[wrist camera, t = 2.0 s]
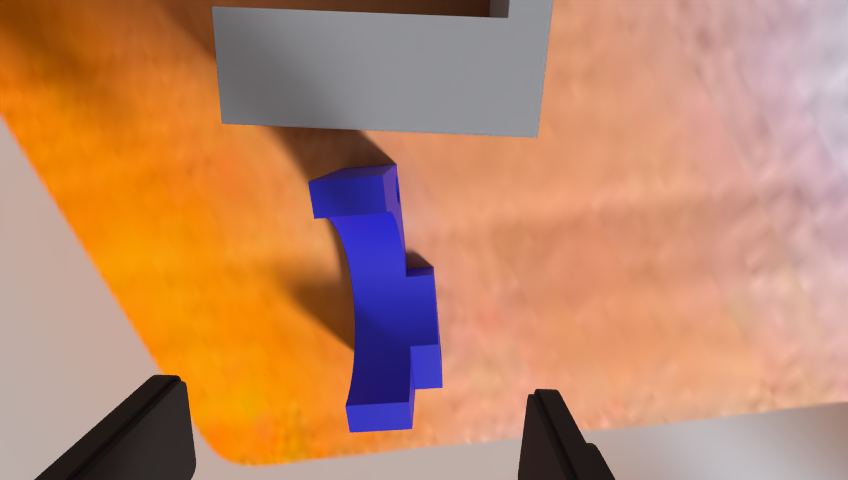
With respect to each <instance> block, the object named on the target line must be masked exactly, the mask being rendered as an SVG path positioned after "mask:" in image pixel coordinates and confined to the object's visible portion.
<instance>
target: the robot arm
mask: <svg viewBox="0 0 848 480" xmlns="http://www.w3.org/2000/svg"><path fill="white" fill-rule="evenodd" d="M195 468H196V457H195V450H194V442H193V434H192V425H191V417H190V409H189V401H188V393H187V386H186V383H185V382H183V381H181V379H180V377H179V376H177V375H153V376H152V377H150V378H149V379H148V380H147V381H146V382H145V383H144V384H143V385H141V386H140V387H139V388H138V389H137V390H136V391H134V392H133V393H132V394H131V395H130V396H129V397H128V398H126V399H125V400H124V401H123V402H122V403H121V404H120V405H119V406H117V407H116V408H115V409H114V410H113V411H112V412H111V413H109V414H108V415H107V416H106V417H105V418H104V419H103V420H102V421H100V422H99V423H98V424H97V425H96V426H95V427H94V428H92V429H91V430H90V431H89V432H88V433H87V434H86V435H84V436H83V437H82V438H81V439H80V440H79V441H78V442H76V443H75V444H74V445H73V446H72V447H71V448H70V449H69V450H67V451H66V452H65V453H64V454H63V455H62V456H61V457H59V459H57V460H56V461H55V462H54V463H53V464H52V465H51V466H49V467H48V468H47V469H46V470H45V471H44V472H42V473H41V474H40V475H39V476H38V477H37V478H36V479H35V480H191V478H192V477H193V474H194V472H195ZM518 480H615V478H614V476H613V474H612V473H611V471H610V469H609V467H608V466H607V464H606V462H605V460H604V458H603V457H602V455H601V453H600V451H599V450H598V448H597V447H596V445H594V444H593V443H586V442H585V440H584V438H583V436H582V434H581V432H580V431H579V429H578V427H577V425H576V423H575V421H574V419H573V417H572V415H571V414H570V412H569V410H568V408H567V406H566V404H565V402H564V400H563V398H562V396H561V395H560V393H559V391H558V390H552V389H536V390H535V392H534V394H529V395H528V399H527V406H526V414H525V422H524V430H523V438H522V446H521V454H520V462H519V470H518Z"/></svg>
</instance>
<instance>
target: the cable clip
mask: <svg viewBox="0 0 848 480" xmlns="http://www.w3.org/2000/svg"><path fill="white" fill-rule="evenodd" d="M308 183H309V190H310V196H311V202H312V208H313V214H314V219H317V218H327V219H329V220H330V221H331V222H332V223H333V225H334V226H335V228H336V229H337V231H338V233H339V235H340V237H341V240H342V243H343V245H344V248H345V252H346V255H347V259H348V264H349V268H350V274H351V280H352V287H353V296H354V309H355V352H354V365H353V373H352V380H351V386H350V391H349V395H348V399H347V402H346V412H347V418H348V424H349V430H350V433H351V432H369V431H386V430H404V429H412V425H413V412H414V399H415V389H428V388H442V358H441V346H440V335H439V324H438V312H437V301H436V290H435V279H434V267H425V268H412V269H408V268H407V258H406V249H405V240H404V230H403V221H402V212H401V202H400V193H399V183H398V174H397V165H396V164H390V165H379V166H368V167H356V168H345V169H340V170H337V171H335V172H332V173H330V174H327V175H325V176H322V177H320V178H317V179H315V180H312V181H310V182H308Z"/></svg>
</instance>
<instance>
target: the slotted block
mask: <svg viewBox="0 0 848 480" xmlns="http://www.w3.org/2000/svg"><path fill="white" fill-rule="evenodd" d="M552 7H553V0H490V11H489V17H465V16H440V15H416V14H391V13H366V12H342V11H317V10H292V9H268V8H243V7H218V6H212V17H213V29H214V40H215V51H216V62H217V73H218V85H219V96H220V107H221V118H222V124H239V125H261V126H284V127H307V128H329V129H352V130H374V131H397V132H420V133H442V134H465V135H488V136H510V137H533V138H538V129H539V120H540V111H541V103H542V94H543V85H544V77H545V68H546V59H547V51H548V42H549V33H550V24H551V16H552Z"/></svg>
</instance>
